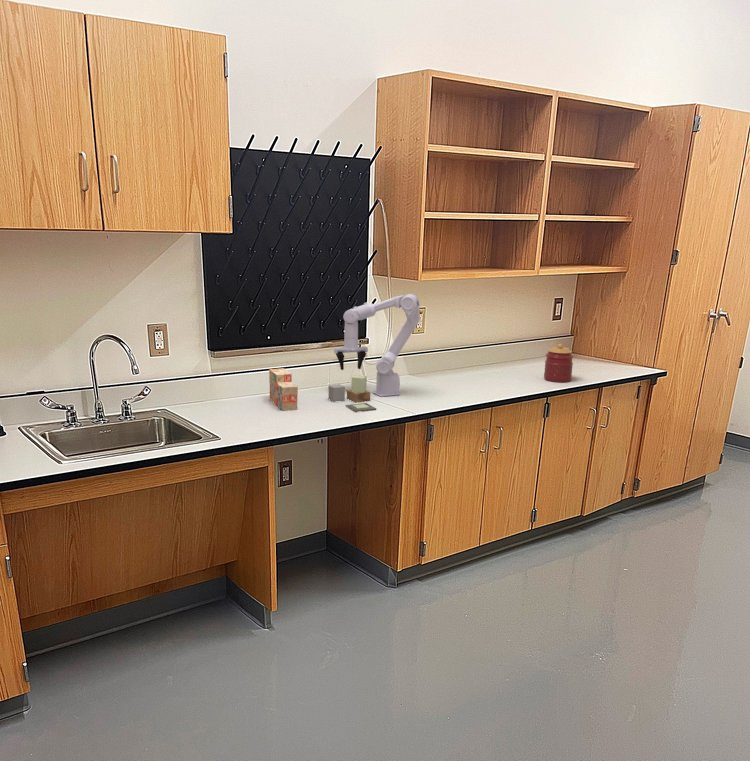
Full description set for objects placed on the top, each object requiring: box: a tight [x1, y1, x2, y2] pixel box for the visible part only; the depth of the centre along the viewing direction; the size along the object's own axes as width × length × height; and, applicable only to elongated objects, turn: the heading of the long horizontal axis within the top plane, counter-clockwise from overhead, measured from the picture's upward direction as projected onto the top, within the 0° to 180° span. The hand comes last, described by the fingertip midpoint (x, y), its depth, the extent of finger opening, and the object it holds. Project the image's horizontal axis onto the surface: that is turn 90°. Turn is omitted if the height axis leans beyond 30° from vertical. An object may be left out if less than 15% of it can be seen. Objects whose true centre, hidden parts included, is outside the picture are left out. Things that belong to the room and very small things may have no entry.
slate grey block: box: [328, 383, 346, 403], centre depth 276 cm, size 5×5×6 cm
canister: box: [543, 343, 574, 383], centre depth 323 cm, size 13×13×18 cm
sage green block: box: [350, 374, 368, 393], centre depth 276 cm, size 5×5×6 cm
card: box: [345, 402, 377, 413], centre depth 265 cm, size 9×9×1 cm
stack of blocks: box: [268, 367, 299, 411], centre depth 268 cm, size 21×6×12 cm, turn 21°
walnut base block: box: [346, 389, 371, 404], centre depth 277 cm, size 7×7×4 cm
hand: (350, 369), depth 289 cm, fingers open, 7 cm apart
